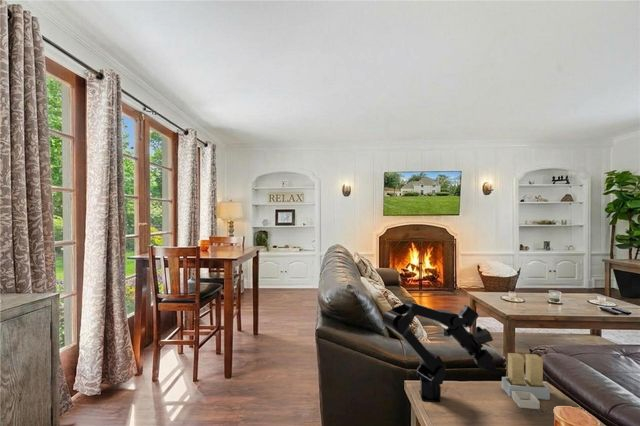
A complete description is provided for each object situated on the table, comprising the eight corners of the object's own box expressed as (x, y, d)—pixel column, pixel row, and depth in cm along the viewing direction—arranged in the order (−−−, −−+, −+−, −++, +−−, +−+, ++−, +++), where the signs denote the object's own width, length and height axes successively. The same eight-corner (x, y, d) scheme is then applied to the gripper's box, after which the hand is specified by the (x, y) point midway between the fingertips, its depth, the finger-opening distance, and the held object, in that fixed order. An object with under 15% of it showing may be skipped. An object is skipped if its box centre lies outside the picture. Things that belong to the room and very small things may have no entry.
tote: (519, 407, 114) (519, 400, 114) (511, 397, 120) (511, 390, 120) (539, 409, 113) (539, 401, 113) (530, 398, 119) (530, 391, 119)
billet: (512, 391, 121) (512, 357, 122) (507, 385, 125) (507, 352, 125) (524, 391, 121) (524, 358, 121) (519, 386, 125) (519, 353, 125)
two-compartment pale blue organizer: (509, 396, 120) (509, 385, 120) (501, 387, 127) (501, 376, 127) (549, 399, 118) (549, 388, 118) (539, 389, 125) (539, 379, 125)
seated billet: (531, 392, 121) (530, 358, 121) (525, 386, 124) (525, 353, 125) (543, 393, 120) (543, 359, 120) (537, 387, 124) (537, 354, 124)
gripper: (487, 331, 116) (520, 364, 114) (470, 315, 134) (499, 343, 133) (463, 352, 117) (496, 385, 115) (450, 333, 135) (478, 361, 134)
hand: (493, 367), depth 124 cm, fingers open, 9 cm apart
